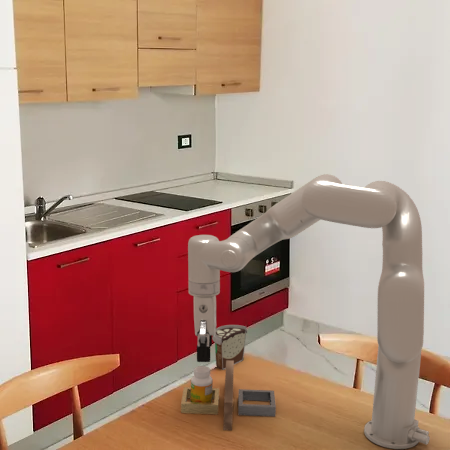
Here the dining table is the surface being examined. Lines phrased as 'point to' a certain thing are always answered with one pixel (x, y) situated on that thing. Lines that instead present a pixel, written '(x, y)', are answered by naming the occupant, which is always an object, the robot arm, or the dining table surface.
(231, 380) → the brown wooden plank
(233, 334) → the food container
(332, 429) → the dining table surface
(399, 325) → the robot arm
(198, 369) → the supplement bottle
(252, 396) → the double square frame
